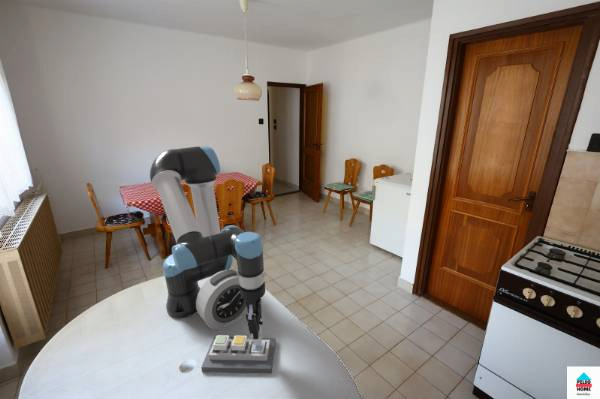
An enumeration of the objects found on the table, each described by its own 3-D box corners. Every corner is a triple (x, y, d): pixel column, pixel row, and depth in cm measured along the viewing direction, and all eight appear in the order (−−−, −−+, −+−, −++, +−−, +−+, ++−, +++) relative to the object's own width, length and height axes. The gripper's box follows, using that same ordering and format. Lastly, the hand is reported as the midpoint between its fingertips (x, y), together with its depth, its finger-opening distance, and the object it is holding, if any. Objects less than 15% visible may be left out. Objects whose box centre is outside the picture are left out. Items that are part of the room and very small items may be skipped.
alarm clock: (207, 336, 102) (200, 290, 95) (198, 325, 107) (191, 281, 101) (256, 308, 115) (252, 266, 109) (246, 299, 121) (242, 259, 114)
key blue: (251, 356, 91) (250, 350, 90) (253, 346, 94) (253, 340, 94) (263, 356, 90) (263, 351, 90) (265, 346, 94) (264, 341, 93)
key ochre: (232, 350, 90) (231, 344, 89) (235, 340, 94) (234, 334, 93) (244, 350, 90) (243, 344, 89) (247, 340, 94) (246, 335, 93)
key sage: (213, 349, 90) (212, 344, 90) (217, 339, 94) (216, 334, 93) (226, 350, 90) (225, 344, 89) (229, 340, 94) (228, 334, 93)
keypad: (202, 371, 88) (200, 362, 87) (214, 341, 100) (213, 332, 98) (271, 373, 87) (270, 363, 86) (276, 342, 99) (275, 333, 97)
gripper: (260, 297, 77) (265, 360, 85) (267, 270, 90) (271, 328, 98) (234, 296, 78) (241, 360, 86) (244, 269, 90) (250, 327, 98)
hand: (257, 343), depth 92 cm, fingers closed
